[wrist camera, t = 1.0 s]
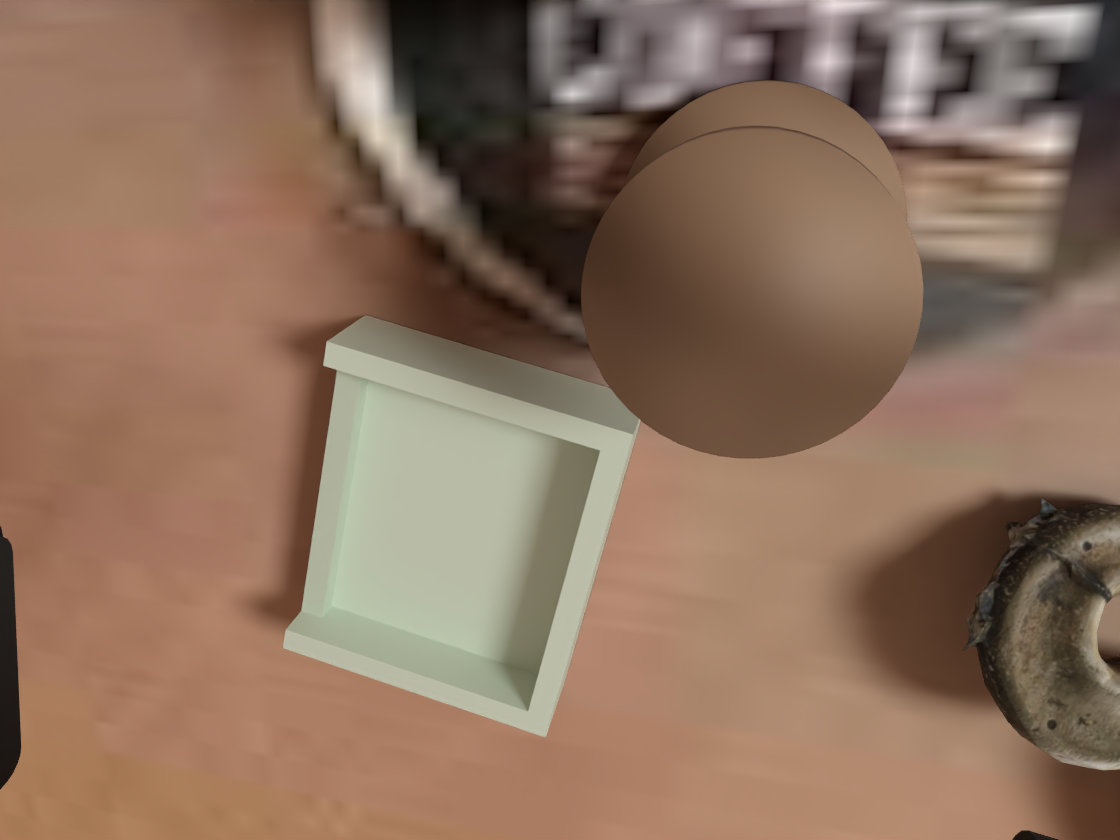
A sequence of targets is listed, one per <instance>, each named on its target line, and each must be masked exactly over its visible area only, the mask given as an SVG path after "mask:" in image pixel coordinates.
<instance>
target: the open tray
mask: <svg viewBox="0 0 1120 840" xmlns="http://www.w3.org/2000/svg"><path fill="white" fill-rule="evenodd" d="M323 366H326V367H329V368H332V369H336V370H337V374H336V381H335V388H334V394H333V401H332V408H331V415H330V421H329V428H328V435H327V441H326V448H325V455H324V462H323V468H322V475H321V482H320V489H319V495H318V502H317V509H316V516H315V522H314V529H313V536H312V543H311V549H310V556H309V563H308V569H307V576H306V583H305V590H304V596H303V603H302V610H301V612H300V613H299V614H298V616H297V617H296V618H295V619H294V620H293V622H292V623H291V624H290V625H289V626H288V628H287V629H286V632H285V639H284V646H283V648H285V649H287V650H290V651H293V652H296V653H299V654H302V655H305V656H308V657H311V658H314V659H317V660H320V661H323V662H326V663H329V664H332V665H334V666H337V667H340V668H343V669H346V670H349V671H352V672H355V673H358V674H361V675H364V676H367V677H370V678H373V679H376V680H378V681H381V682H384V683H387V684H390V685H393V686H396V687H399V688H402V689H405V690H408V691H411V692H414V693H417V694H420V695H422V696H425V697H428V698H431V699H434V700H437V701H440V702H443V703H446V704H449V705H452V706H455V707H458V708H461V709H464V710H467V711H469V712H472V713H475V714H478V715H481V716H484V717H487V718H490V719H493V720H496V721H499V722H502V723H505V724H508V725H511V726H513V727H516V728H519V729H522V730H525V731H528V732H531V733H534V734H537V735H540V736H543V737H546V735H547V732H548V729H549V726H550V723H551V720H552V717H553V714H554V711H555V709H556V706H557V703H558V700H559V697H560V694H561V691H562V688H563V685H564V682H565V679H566V675H567V672H568V668H569V665H570V662H571V658H572V655H573V651H574V648H575V644H576V641H577V637H578V634H579V631H580V627H581V624H582V620H583V617H584V613H585V610H586V607H587V603H588V600H589V596H590V593H591V589H592V586H593V582H594V579H595V576H596V572H597V569H598V565H599V562H600V558H601V555H602V552H603V548H604V545H605V541H606V538H607V534H608V531H609V528H610V524H611V521H612V517H613V514H614V510H615V507H616V503H617V500H618V497H619V493H620V490H621V486H622V483H623V479H624V476H625V473H626V469H627V466H628V462H629V459H630V455H631V452H632V449H633V445H634V442H635V438H636V435H637V431H638V428H639V424H640V421H641V420H640V419H639V418H638V417H636V416H635V415H634V414H633V413H632V412H631V411H629V410H628V409H627V407H626V406H625V405H624V404H623V403H622V402H621V401H620V400H619V398H618V397H617V396H616V395H615V394H614V392H613V391H612V389H611V388H608V387H604V386H601V385H598V384H594V383H591V382H588V381H584V380H581V379H578V378H574V377H571V376H568V375H564V374H561V373H558V372H554V371H551V370H548V369H544V368H541V367H537V366H534V365H531V364H527V363H524V362H521V361H517V360H514V359H511V358H507V357H504V356H501V355H497V354H494V353H491V352H487V351H484V350H481V349H477V348H474V347H471V346H467V345H464V344H461V343H457V342H454V341H451V340H447V339H444V338H441V337H437V336H434V335H431V334H427V333H424V332H421V331H417V330H414V329H411V328H407V327H404V326H401V325H397V324H394V323H391V322H387V321H384V320H381V319H377V318H374V317H371V316H367V315H365V316H363V317H362V318H360V319H359V320H357V321H356V322H354V323H353V324H352V325H350V326H349V327H347V328H346V329H344V330H343V331H341V332H340V333H338V334H337V335H335V336H334V337H332V338H331V339H330V340H328V341H327V343H326V350H325V357H324V364H323Z"/></svg>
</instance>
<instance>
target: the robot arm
mask: <svg viewBox="0 0 1120 840" xmlns="http://www.w3.org/2000/svg"><path fill="white" fill-rule="evenodd" d="M20 753H21V732H20V709H19V685H18V662H17V639H16V615H15V592H14V568H13V551H12V546H11V543H10V542H9V540H8V539H6V538H4V537H3V534H2V529H1V527H0V789H1V788H2V787H3V786H4V785H5V783H6V782H7V781H8V780H9V778H10V777H11V775H12V774H13V772H14V770H15V768H16V765H17V763H18V760H19V757H20ZM1013 840H1058V839H1055V838H1051V837H1048V836H1045V835H1041V834H1038V833H1035V832H1031V831H1021V832H1019V833H1018V834H1017V835H1015V837H1014V838H1013Z"/></svg>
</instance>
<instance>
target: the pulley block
mask: <svg viewBox="0 0 1120 840" xmlns="http://www.w3.org/2000/svg"><path fill="white" fill-rule="evenodd" d="M1041 502H1042V505H1041V509H1040V513H1039V514H1038V515H1037V516H1035V517H1034V518H1032V519H1031V520H1029V521H1028V522H1027V523H1025V524H1024V525H1022V524H1021V523H1019V522H1015V523H1007V525H1006V529H1007V532H1008V536H1009V540H1010V544H1009V546H1008V548H1007V550H1006V551H1005V553H1004V555H1003V556H1002V558H1001V560H1000V561H999V563H998V565H997V566H996V568H995V570H994V572H993V574H992V576H991V578H990V580H989V582H988V584H987V586H986V587H985V588H984V589H983V590H982V591H981V592H980V593H979V594H978V595H977V596H976V604H975V611H974V612H973V613H972V614H971V615H970V616H969V617H968V618H967V619H966V620H967V624H968V629H969V633H970V637H969V641H968V643H967V644H966V646H965V647H964V649H966V648H968V647H969V646H976V647H977V651H978V655H979V660H980V664H981V669H982V673H983V678H984V682H985V685H986V687H987V688H988V690H989V692H990V694H991V695H992V697H993V699H994V701H995V702H996V704H997V706H998V707H999V709H1000V710H1001V712H1002V713H1003V715H1004V716H1005V718H1006V719H1007V721H1008V722H1009V723H1010V724H1011V725H1012V727H1013V728H1014V729H1015V730H1016V731H1017V732H1018V733H1019V734H1020V735H1021V736H1022V737H1024V738H1025V739H1027V740H1028V741H1030V742H1031V743H1033V744H1034V745H1036V746H1037V747H1038V748H1040V749H1041V750H1043V751H1044V752H1046V753H1047V754H1049V755H1050V756H1052V757H1053V758H1055V759H1056V760H1058V761H1059V762H1063V763H1067V764H1072V765H1077V766H1081V767H1086V768H1092V769H1098V770H1116V769H1120V657H1119V658H1111V659H1103V660H1102V659H1101V657H1100V654H1099V651H1098V642H1097V628H1098V625H1099V622H1100V618H1101V615H1102V612H1103V609H1104V605H1105V604H1107V603H1108V602H1109V601H1110V600H1111V599H1112V598H1113V597H1114V596H1116V595H1118V594H1120V505H1100V504H1086V505H1082V506H1078V507H1073V508H1065V509H1056V508H1055V507H1054V506H1052V505H1051V504H1050V503H1048V502H1046V501H1045V500H1043V499H1042V498H1041ZM964 649H963V650H964Z"/></svg>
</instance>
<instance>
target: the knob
mask: <svg viewBox="0 0 1120 840" xmlns="http://www.w3.org/2000/svg"><path fill="white" fill-rule="evenodd" d="M581 306H582V318H583V324H584V328H585V333H586V338H587V341H588V344H589V347H590V350H591V352H592V355H593V358H594V360H595V362H596V364H597V366H598V368H599V370H600V372H601V374H602V376H603V378H604V379H605V381H606V382H607V384H608V385H609V387H610V388H611V389H612V391H613V392H614V394H615V395H616V396H617V397H618V398H619V400H620V401H621V402H622V403H623V404H624V405H625V406H626V407H627V409H628V410H629V411H631V412H632V413H633V414H634V415H635V416H636V417H638V418H639V419H640V420H641V421H642V422H643V423H645V424H646V425H647V426H649V427H650V428H652V429H653V430H655V431H656V432H658V433H659V434H661V435H663V436H665V437H667V438H669V439H671V440H672V441H674V442H676V443H678V444H681V445H683V446H686V447H689V448H692V449H694V450H697V451H700V452H704V453H709V454H713V455H717V456H724V457H732V458H768V457H776V456H783V455H787V454H791V453H795V452H799V451H803V450H806V449H809V448H811V447H814V446H817V445H819V444H822V443H824V442H826V441H828V440H830V439H832V438H834V437H836V436H837V435H839V434H841V433H843V432H844V431H846V430H847V429H849V428H850V427H852V426H853V425H854V424H856V423H857V422H859V421H860V420H861V419H862V418H863V417H865V416H866V415H867V414H868V413H869V412H870V411H871V410H872V409H874V408H875V407H876V406H877V405H878V403H879V402H880V401H881V400H882V399H883V398H884V396H885V395H886V394H887V393H888V392H889V391H890V389H891V388H892V386H893V385H894V383H895V382H896V380H897V379H898V377H899V376H900V374H901V373H902V371H903V369H904V367H905V365H906V363H907V361H908V359H909V357H910V355H911V352H912V350H913V347H914V344H915V340H916V337H917V334H918V331H919V326H920V320H921V315H922V309H923V279H922V270H921V263H920V259H919V255H918V251H917V247H916V243H915V241H914V238H913V236H912V233H911V231H910V229H909V226H908V224H907V207H906V198H905V192H904V188H903V184H902V181H901V177H900V174H899V172H898V169H897V167H896V164H895V162H894V159H893V157H892V156H891V154H890V152H889V151H888V149H887V147H886V146H885V144H884V142H883V141H882V139H881V138H880V137H879V136H878V134H877V133H876V132H875V131H874V129H873V128H872V127H871V126H870V125H869V123H868V122H867V121H866V120H865V119H864V118H862V117H861V116H860V115H859V114H858V113H857V112H856V111H855V110H854V109H852V108H851V107H849V106H848V105H846V104H845V103H844V102H842V101H841V100H839V99H838V98H836V97H834V96H832V95H830V94H828V93H826V92H824V91H822V90H819V89H816V88H813V87H810V86H807V85H804V84H799V83H794V82H788V81H779V80H757V81H746V82H741V83H737V84H732V85H728V86H725V87H722V88H719V89H717V90H714V91H711V92H709V93H707V94H705V95H703V96H701V97H699V98H697V99H695V100H693V101H691V102H690V103H689V104H687V105H686V106H684V107H683V108H682V109H680V110H679V111H677V112H676V113H675V114H673V115H672V116H671V117H670V118H669V119H668V120H667V121H665V122H664V123H663V124H662V125H661V126H660V127H659V128H658V129H657V130H656V131H655V133H654V134H653V135H652V136H651V137H650V138H649V140H648V141H647V142H646V143H645V145H644V146H643V148H642V149H641V151H640V153H639V154H638V156H637V157H636V159H635V161H634V163H633V165H632V167H631V169H630V171H629V173H628V175H627V178H626V181H625V184H624V187H623V189H622V191H621V192H620V193H619V194H618V195H617V196H616V198H615V199H614V200H613V201H612V203H611V204H610V206H609V208H608V209H607V211H606V212H605V214H604V215H603V217H602V218H601V220H600V222H599V225H598V227H597V229H596V231H595V233H594V235H593V237H592V240H591V243H590V246H589V249H588V253H587V256H586V259H585V265H584V270H583V276H582V288H581Z"/></svg>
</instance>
